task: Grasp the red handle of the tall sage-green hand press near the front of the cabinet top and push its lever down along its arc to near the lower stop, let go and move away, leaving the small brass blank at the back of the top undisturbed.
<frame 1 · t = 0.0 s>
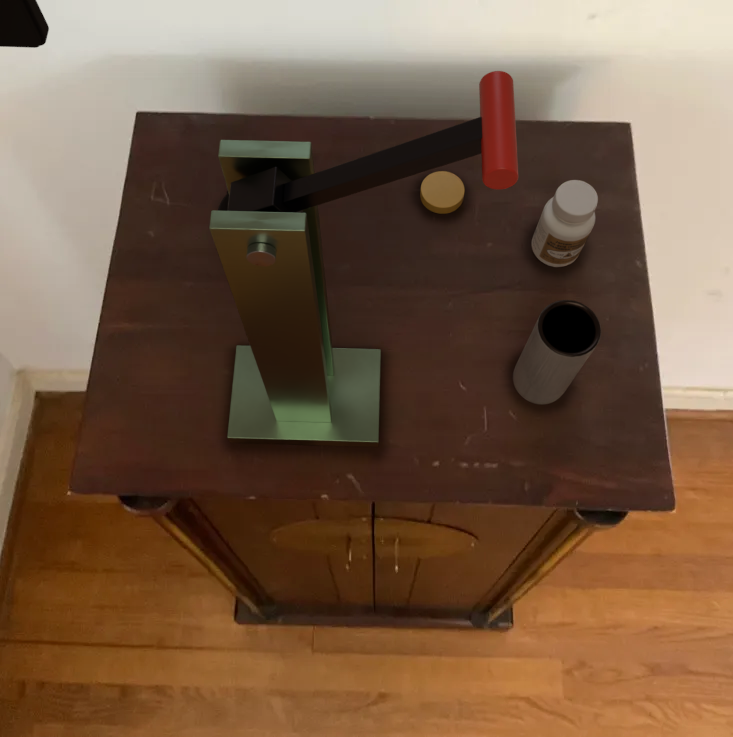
watch: (253, 210, 71), on the table
hand press: (307, 398, 64), on the table
pill bottle: (554, 248, 69), on the table
brass blank: (441, 195, 71), on the table
lever: (366, 172, 35), point 31 cm above the table, hinge at 30.0°
planter: (538, 380, 64), on the table
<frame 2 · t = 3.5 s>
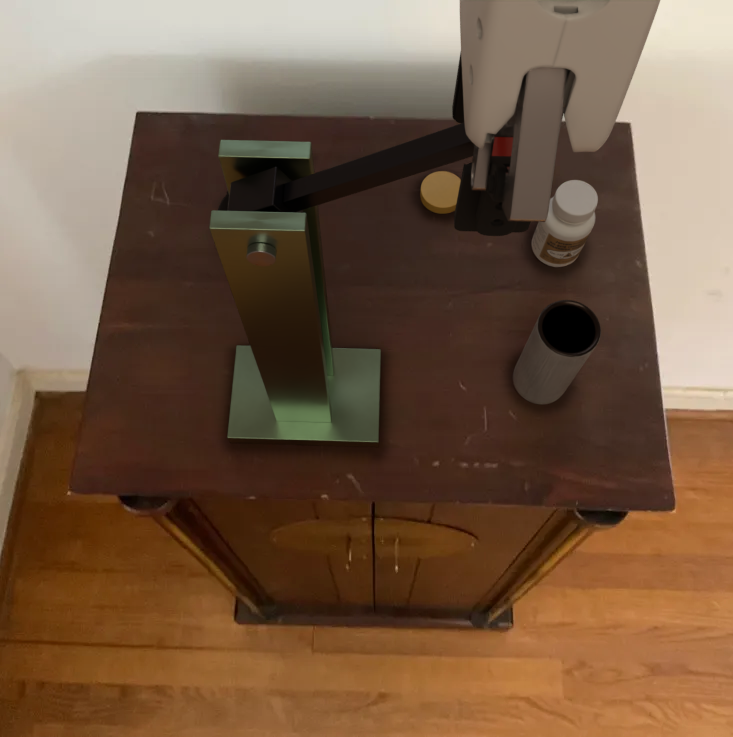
hand: (488, 167, 34), 31 cm above the table, tool pointing down, fingers closed on lever, 5 cm apart
lever: (366, 172, 35), point 31 cm above the table, hinge at 30.0°, touching gripper
everything else where it was.
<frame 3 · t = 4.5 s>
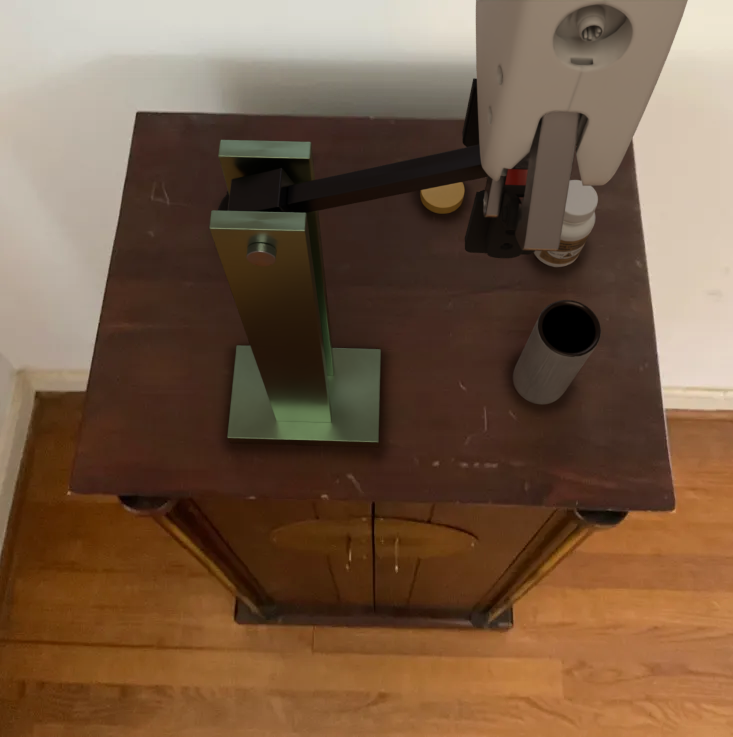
hand: (496, 191, 36), 30 cm above the table, tool pointing down, fingers closed on lever, 5 cm apart
lever: (374, 183, 36), point 30 cm above the table, hinge at 21.2°, touching gripper
everything else where it was.
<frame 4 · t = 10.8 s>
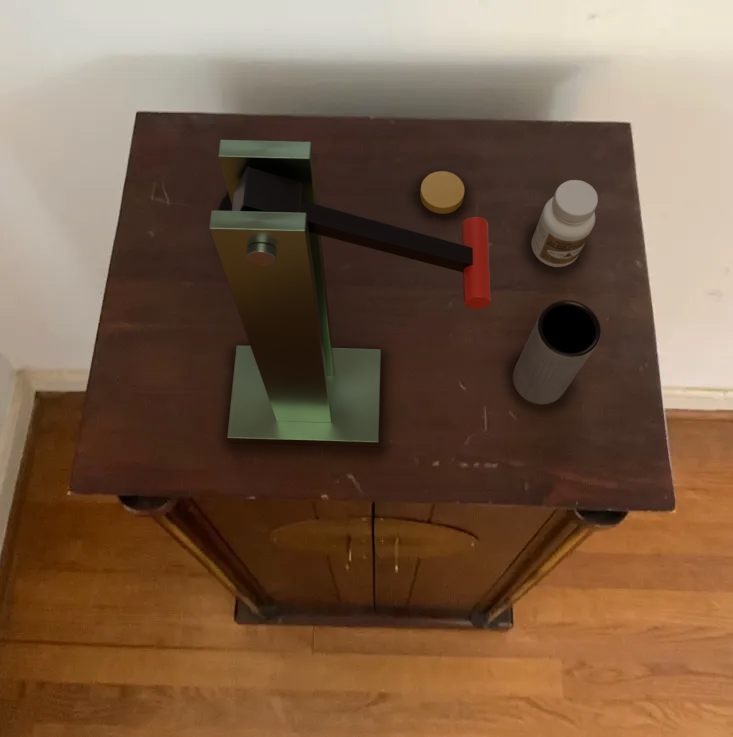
lever: (371, 234, 40), point 26 cm above the table, hinge at -24.4°
everything else where it was.
at the end: lever at -24° (first picture: +30°); the gripper is holding nothing; brass blank moved 0.0 cm from its start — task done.
